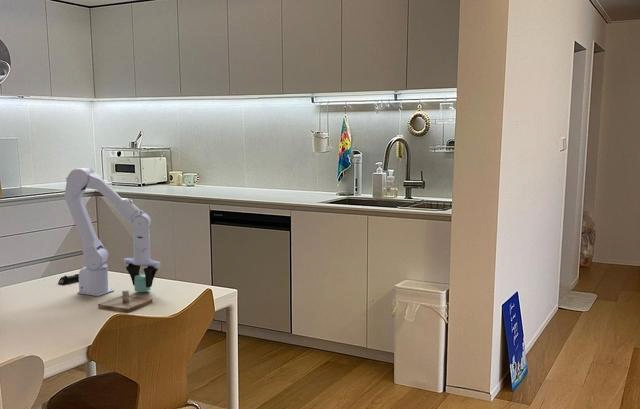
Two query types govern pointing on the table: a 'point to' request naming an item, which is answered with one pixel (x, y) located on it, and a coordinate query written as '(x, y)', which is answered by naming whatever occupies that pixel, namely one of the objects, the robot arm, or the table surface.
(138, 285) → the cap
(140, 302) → the post board
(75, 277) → the electric trimmer
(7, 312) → the table surface
